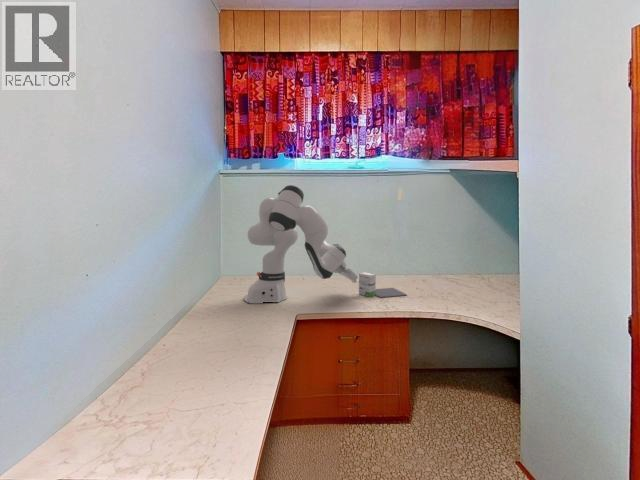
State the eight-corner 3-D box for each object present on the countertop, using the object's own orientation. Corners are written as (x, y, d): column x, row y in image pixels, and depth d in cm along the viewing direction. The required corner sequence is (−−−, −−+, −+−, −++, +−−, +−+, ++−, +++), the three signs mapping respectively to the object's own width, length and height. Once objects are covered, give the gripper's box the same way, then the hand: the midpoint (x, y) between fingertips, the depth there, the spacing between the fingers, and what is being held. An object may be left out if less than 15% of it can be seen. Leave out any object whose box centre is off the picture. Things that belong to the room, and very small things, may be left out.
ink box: (375, 295, 237) (376, 274, 236) (369, 297, 234) (369, 275, 233) (364, 292, 244) (365, 271, 242) (358, 294, 241) (358, 272, 239)
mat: (380, 298, 233) (380, 296, 233) (367, 290, 248) (367, 289, 248) (406, 295, 238) (406, 294, 238) (393, 288, 253) (393, 287, 253)
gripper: (349, 263, 222) (366, 281, 226) (335, 257, 241) (351, 273, 245) (341, 273, 221) (358, 290, 225) (327, 265, 240) (344, 281, 245)
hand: (354, 281), depth 236 cm, fingers closed
